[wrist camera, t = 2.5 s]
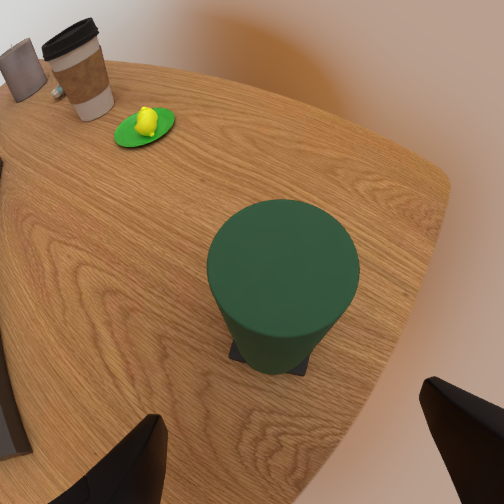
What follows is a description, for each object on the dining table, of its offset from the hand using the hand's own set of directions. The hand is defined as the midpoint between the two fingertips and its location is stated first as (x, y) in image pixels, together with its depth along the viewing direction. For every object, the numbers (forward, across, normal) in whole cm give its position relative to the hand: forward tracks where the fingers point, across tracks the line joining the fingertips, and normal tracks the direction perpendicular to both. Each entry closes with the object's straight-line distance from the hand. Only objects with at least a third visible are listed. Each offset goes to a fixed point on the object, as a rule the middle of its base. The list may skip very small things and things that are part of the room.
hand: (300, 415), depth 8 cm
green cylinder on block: (+14, -1, +3) cm, 14 cm away
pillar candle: (+53, +50, -36) cm, 81 cm away
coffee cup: (+36, +22, -20) cm, 47 cm away
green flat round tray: (+30, +13, -14) cm, 36 cm away
